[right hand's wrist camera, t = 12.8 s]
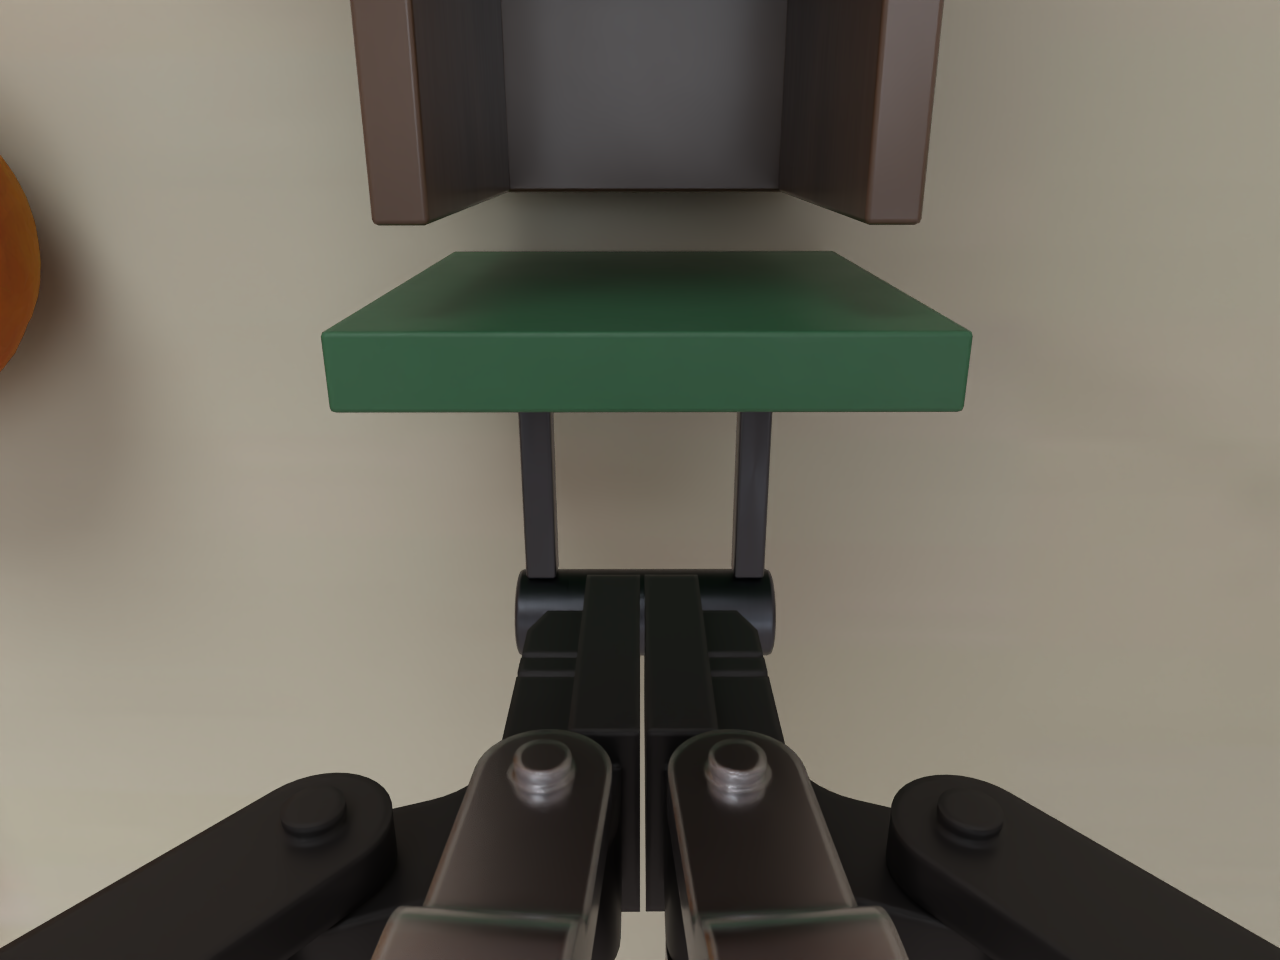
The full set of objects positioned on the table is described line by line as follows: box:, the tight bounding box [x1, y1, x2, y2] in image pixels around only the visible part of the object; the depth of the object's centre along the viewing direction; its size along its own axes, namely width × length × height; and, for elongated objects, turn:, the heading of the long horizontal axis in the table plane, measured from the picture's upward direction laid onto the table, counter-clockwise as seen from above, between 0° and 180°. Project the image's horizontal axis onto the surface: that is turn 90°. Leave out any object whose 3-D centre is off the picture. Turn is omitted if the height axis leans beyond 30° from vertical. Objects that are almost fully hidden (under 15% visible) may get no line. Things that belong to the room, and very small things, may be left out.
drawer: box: [321, 0, 973, 655], centre depth 16 cm, size 23×9×10 cm, turn 0°
